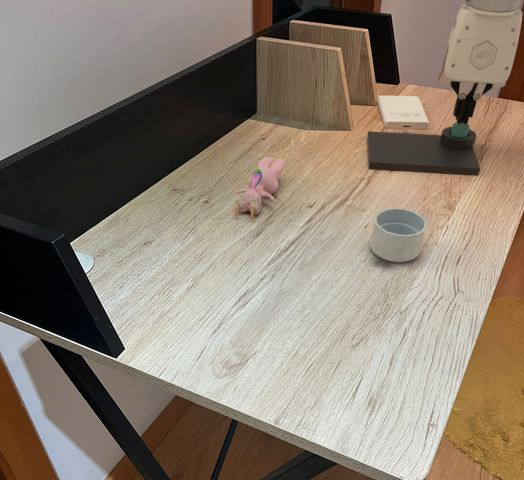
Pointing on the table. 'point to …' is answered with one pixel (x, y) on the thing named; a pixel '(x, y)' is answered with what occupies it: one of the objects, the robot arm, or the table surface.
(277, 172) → the pink soft elongated toy
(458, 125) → the button
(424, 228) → the bowl
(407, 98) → the hard drive
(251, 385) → the table surface
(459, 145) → the scale
